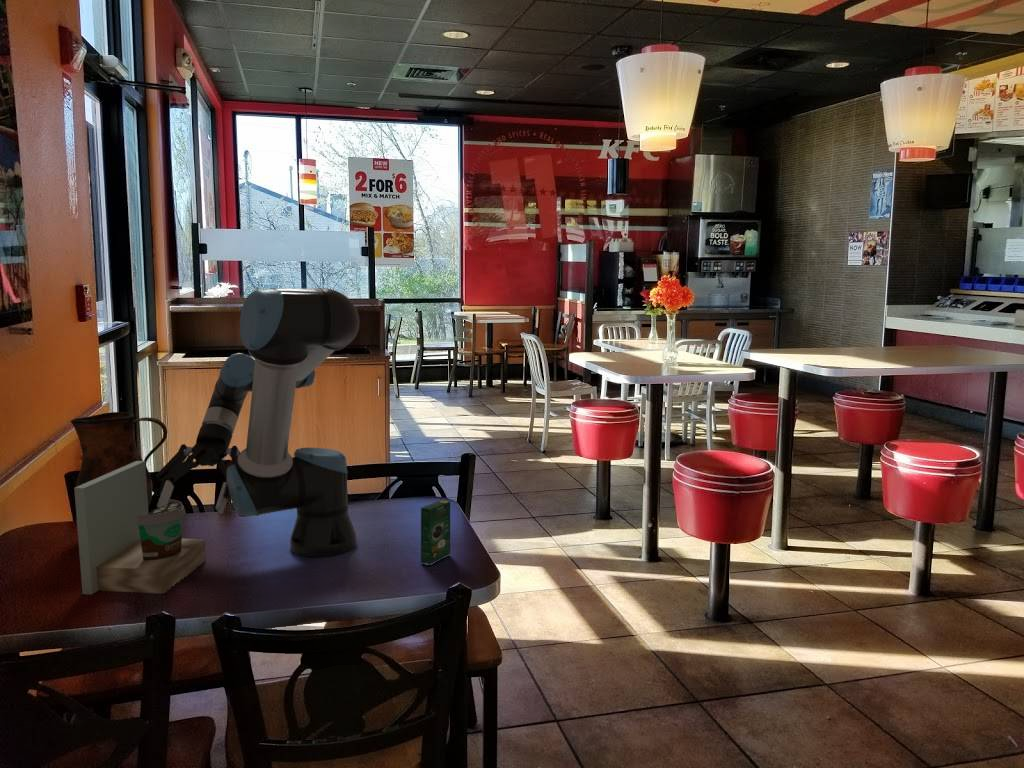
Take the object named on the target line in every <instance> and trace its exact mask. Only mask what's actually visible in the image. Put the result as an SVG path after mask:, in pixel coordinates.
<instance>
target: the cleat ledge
mask: <svg viewBox="0 0 1024 768" xmlns="http://www.w3.org/2000/svg"><path fill="white" fill-rule="evenodd" d="M206 553H207V551H206V539H203V538H202V539H201V538H182V543H181V551H180V553H178V554H176V555H174V556H172V557H168V558H164V559H158V560H143V554H142V547H141V540H140V541H138V542H136V543H135V544H133V545H131V546H130V547H128V548H127V549H125V550H123V551H122V552H120V553H118V554H117V555H115V556H113V557H112V558H110V559H109V560H107V561H105V562H104V563H102V564H100V565H99V566H97V567H96V569H97V583H98V590H102V591H104V592H121V593H147V594H165V593H167V592H168V591H169V590H170V589H172V588H173V587H174V586H175V584H176V583H177V582H178V583H180V582H181V581H182V580H183V579H185V578H186V577H187V576H189V575H190V574H191V573H192V572H194V571H195V570H196V569H197V567H198V566H199V567H200V566H201V565H203V564H204V563H205V562H206V561H207V556H206V555H207V554H206ZM199 567H198V568H199ZM193 570H194V571H193ZM189 573H190V574H189ZM184 577H185V578H184ZM181 579H182V580H181ZM180 580H181V581H180ZM178 583H177V584H178ZM177 584H176V585H177ZM172 586H173V587H172ZM171 587H172V588H171ZM167 590H168V591H167Z"/></svg>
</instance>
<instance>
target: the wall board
mask: <svg viewBox="0 0 1024 768" xmlns="http://www.w3.org/2000/svg"><path fill="white" fill-rule="evenodd" d="M73 489H74V501H75V502H74V503H75V512H76V513H75V514H76V515H75V516H76V527H77V528H76V529H77V539H78V553H79V563H80V565H79V568H80V578H81V579H80V580H81V592H82V595H94V594H95V593H96V592H98V583H97V569H96V567H97V566H99V565H100V564H102V563H104V562H105V561H107V560H109V559H110V558H112V557H113V556H115V555H117V554H118V553H120V552H122V551H123V550H125V549H127V548H128V547H130V546H131V545H133V544H135V543H136V542H138V541H140V532H139V525H136V524H137V515H147V514H149V513H150V512H149V506H148V497H147V482H146V467H145V461H144V460H143V461H135V462H133V463H131V464H128V465H126V466H124V467H121V468H119V469H117V470H114V471H112V472H110V473H108V474H105V475H103V476H101V477H98V478H96V479H94V480H91V481H89V482H87V483H84V484H82V485H80V486H77V487H76V486H75V487H73ZM93 593H94V594H93Z"/></svg>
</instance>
